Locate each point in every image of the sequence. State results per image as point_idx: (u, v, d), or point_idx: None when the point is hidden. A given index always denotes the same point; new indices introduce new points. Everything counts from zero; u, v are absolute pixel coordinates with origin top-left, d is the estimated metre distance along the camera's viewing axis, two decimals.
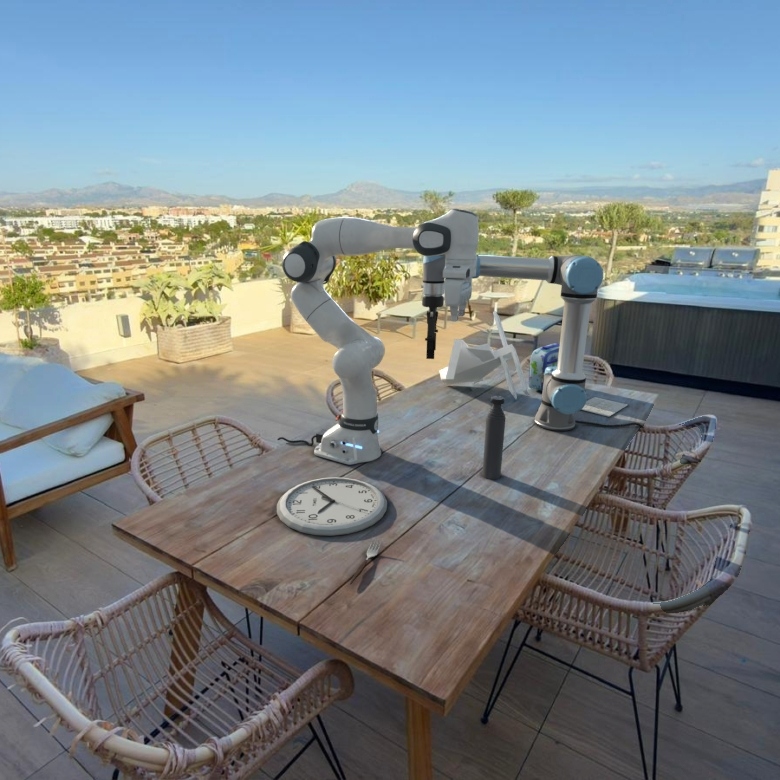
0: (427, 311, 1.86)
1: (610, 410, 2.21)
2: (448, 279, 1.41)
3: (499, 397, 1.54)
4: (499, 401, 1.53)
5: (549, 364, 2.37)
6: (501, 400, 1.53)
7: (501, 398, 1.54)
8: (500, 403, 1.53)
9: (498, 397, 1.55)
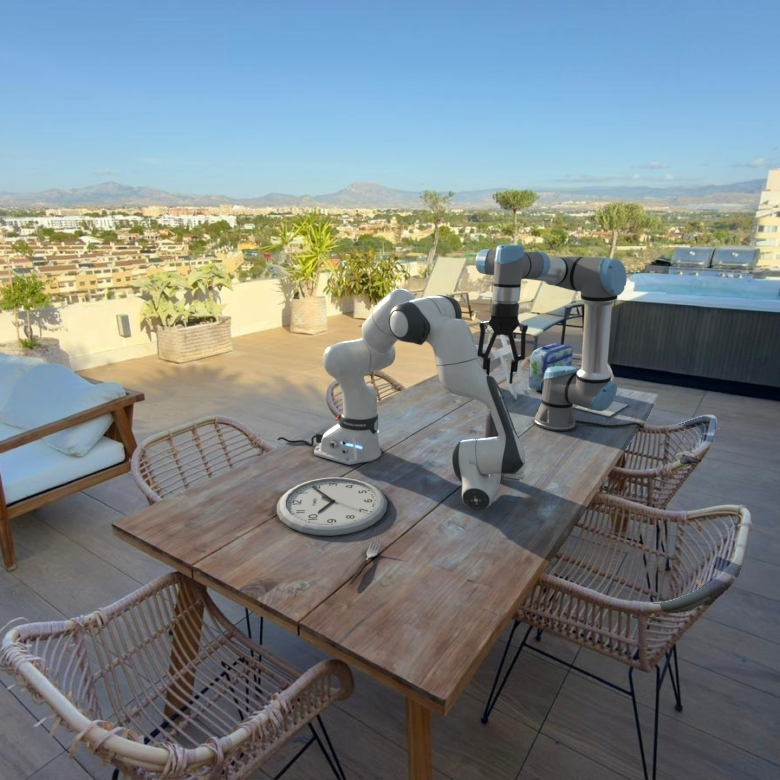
0: None
1: (610, 410, 2.21)
2: None
3: None
4: None
5: (549, 364, 2.37)
6: None
7: None
8: None
9: None
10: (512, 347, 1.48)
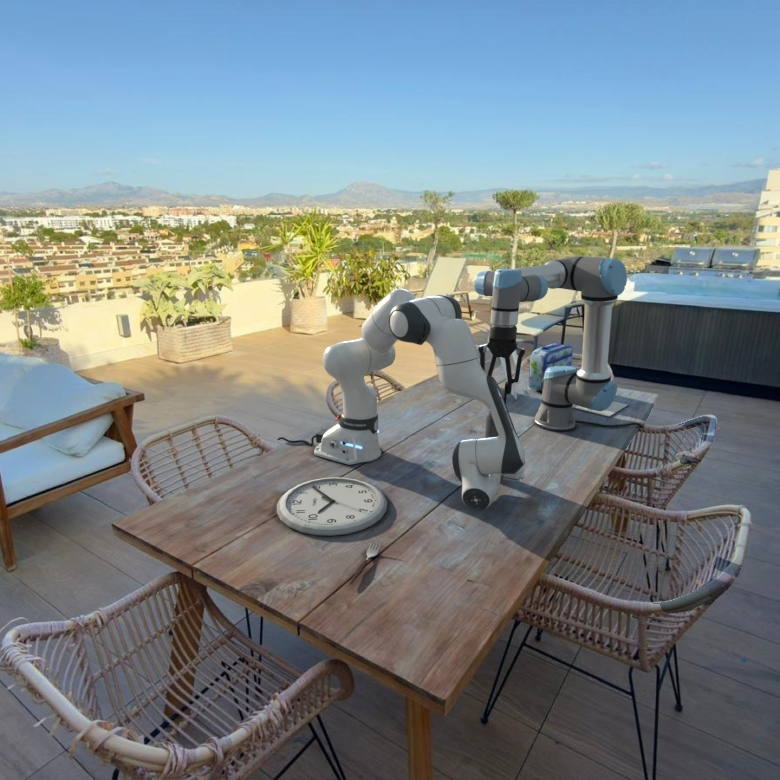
0: None
1: (610, 410, 2.21)
2: None
3: None
4: None
5: (549, 364, 2.37)
6: None
7: None
8: None
9: None
10: (507, 370, 1.50)
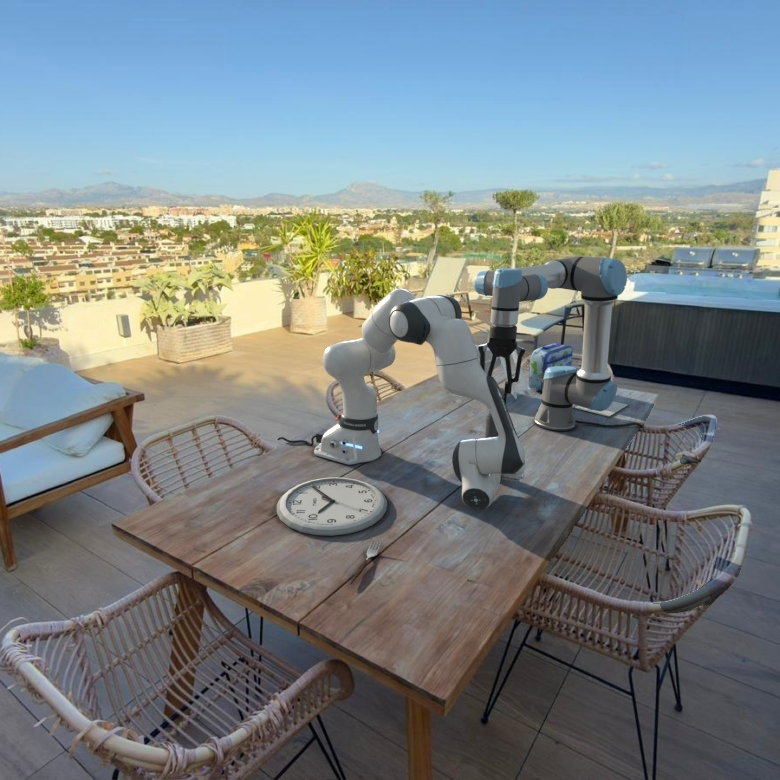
0: None
1: (610, 410, 2.21)
2: None
3: None
4: None
5: (549, 364, 2.37)
6: None
7: None
8: None
9: None
10: (507, 369, 1.50)
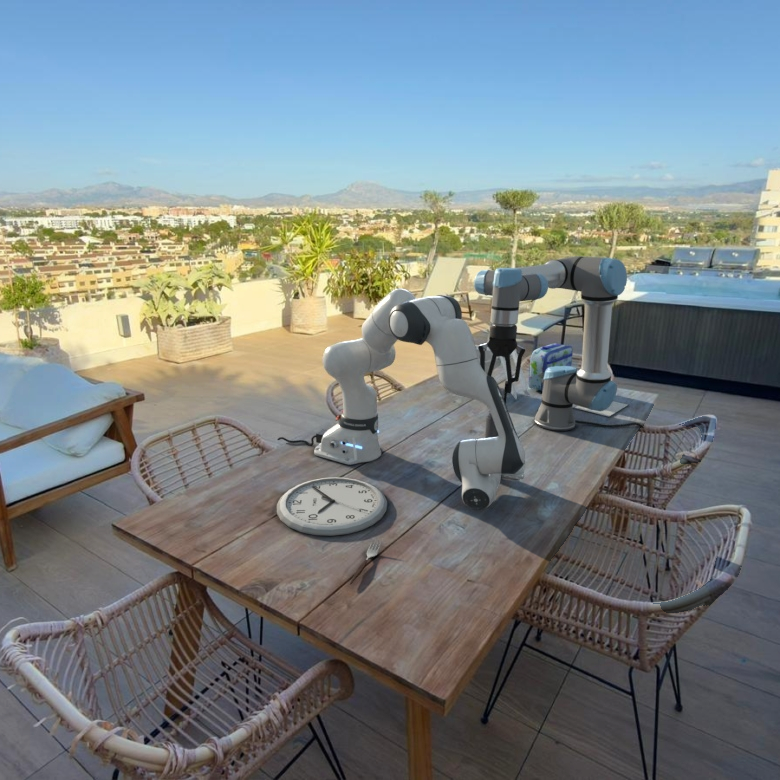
0: None
1: (610, 410, 2.21)
2: None
3: None
4: None
5: (549, 364, 2.37)
6: None
7: None
8: None
9: None
10: (507, 369, 1.50)
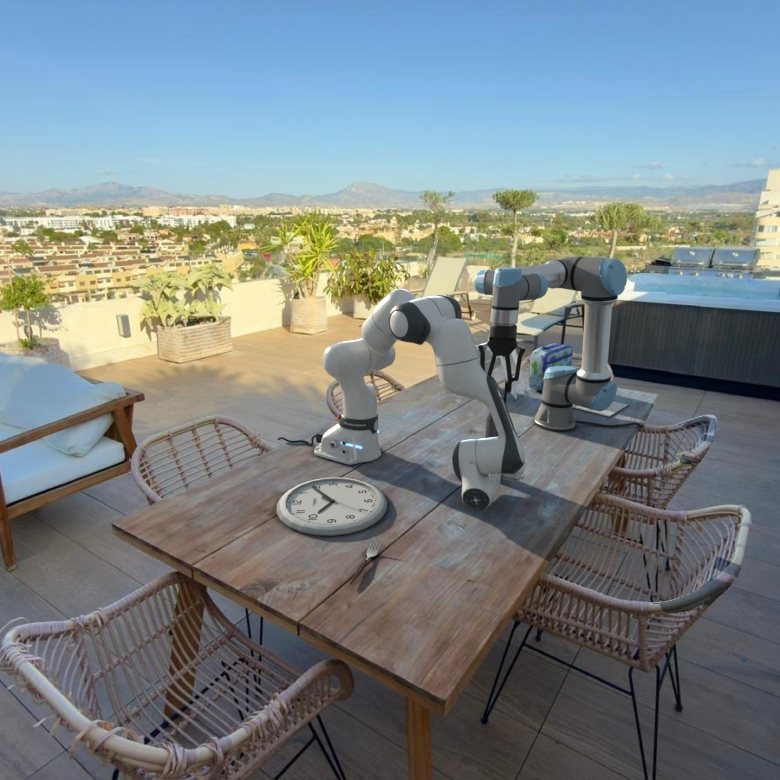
0: None
1: (610, 410, 2.21)
2: None
3: None
4: None
5: (549, 364, 2.37)
6: None
7: None
8: None
9: None
10: (507, 368, 1.50)
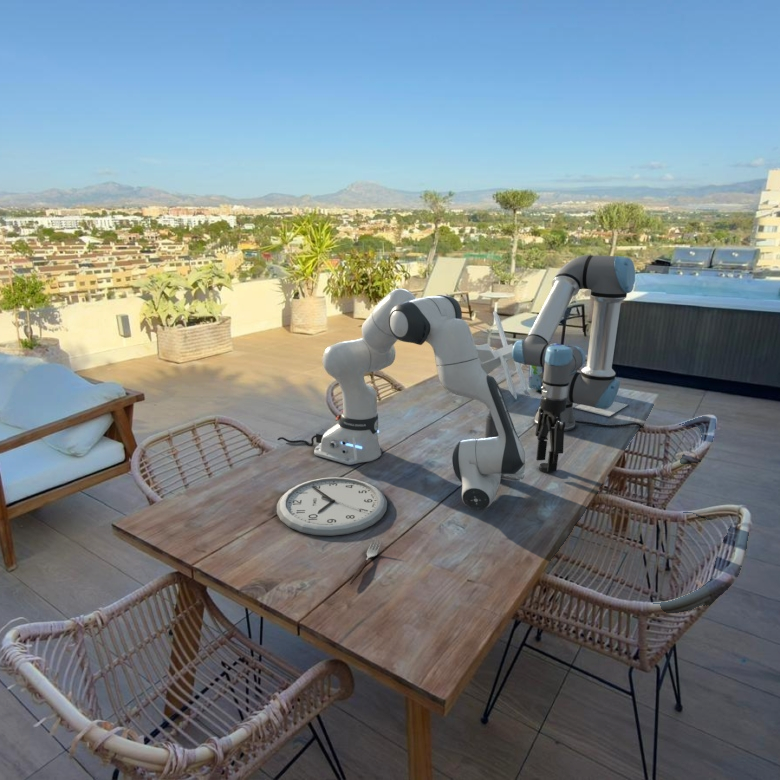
0: (544, 414, 1.61)
1: (610, 410, 2.21)
2: None
3: (545, 464, 1.66)
4: None
5: None
6: None
7: (547, 464, 1.66)
8: None
9: (544, 465, 1.66)
10: None
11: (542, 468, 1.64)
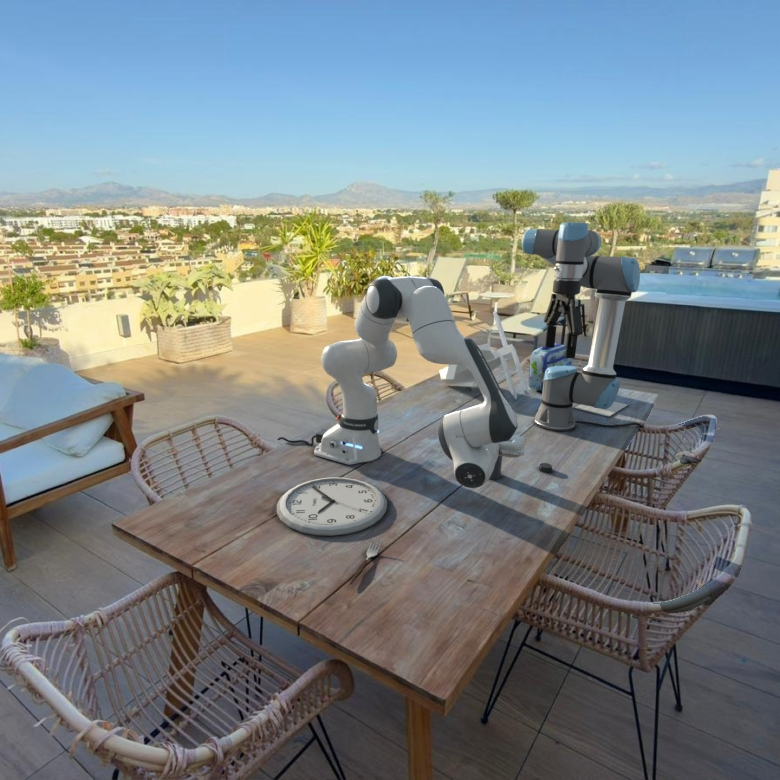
0: (557, 299, 1.51)
1: (610, 410, 2.21)
2: None
3: (545, 464, 1.66)
4: None
5: (549, 364, 2.37)
6: None
7: (547, 464, 1.66)
8: None
9: (544, 465, 1.66)
10: None
11: (542, 468, 1.64)
